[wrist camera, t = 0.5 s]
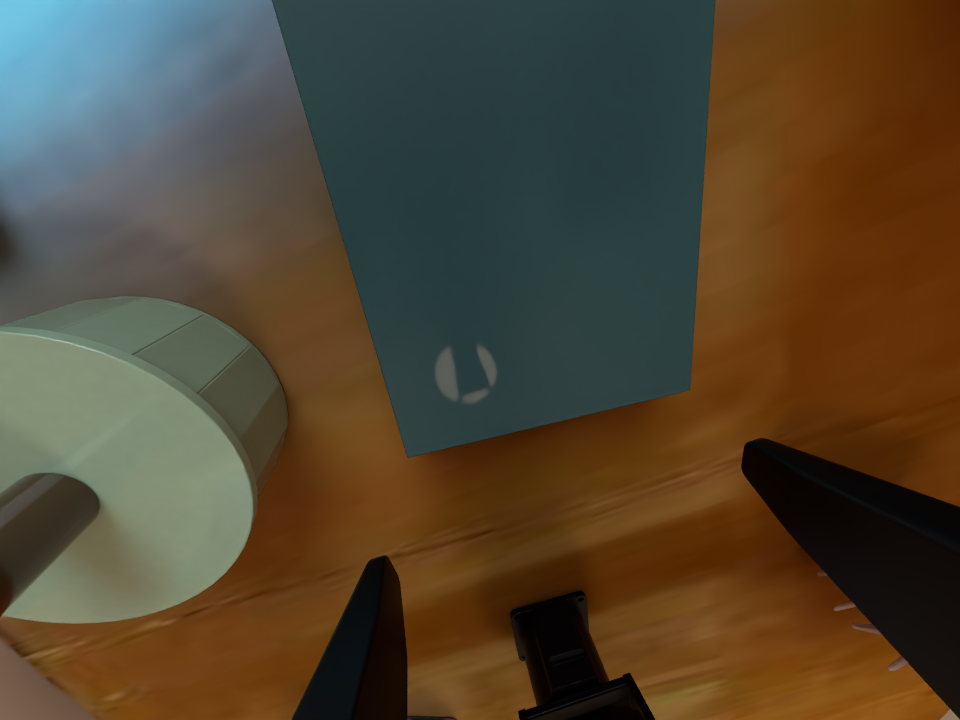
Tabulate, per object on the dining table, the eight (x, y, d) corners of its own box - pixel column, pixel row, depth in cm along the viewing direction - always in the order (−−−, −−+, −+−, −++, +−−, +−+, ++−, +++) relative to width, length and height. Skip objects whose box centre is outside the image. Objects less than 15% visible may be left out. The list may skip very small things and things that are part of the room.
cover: (327, 455, 17) (288, 580, 12) (157, 634, 20) (54, 811, 14) (-42, 234, 12) (-433, 264, 7) (-216, 510, 14) (-620, 712, 9)
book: (649, 363, 25) (690, 390, 22) (407, 418, 24) (407, 458, 20) (656, -40, 17) (722, -104, 14) (291, 7, 16) (257, -49, 12)
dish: (334, 396, 23) (307, 466, 17) (208, 532, 25) (144, 637, 19) (102, 239, 18) (-51, 259, 12) (-30, 424, 20) (-216, 520, 14)
